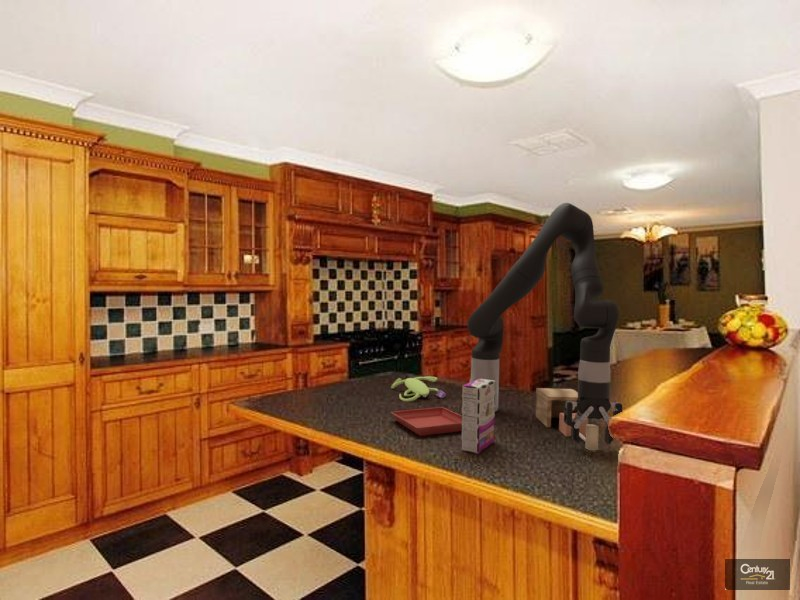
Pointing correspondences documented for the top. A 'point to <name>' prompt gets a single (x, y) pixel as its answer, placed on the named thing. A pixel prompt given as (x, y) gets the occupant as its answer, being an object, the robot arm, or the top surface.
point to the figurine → (417, 387)
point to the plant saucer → (429, 420)
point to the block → (582, 432)
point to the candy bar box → (478, 415)
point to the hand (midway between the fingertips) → (591, 442)
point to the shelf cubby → (553, 403)
